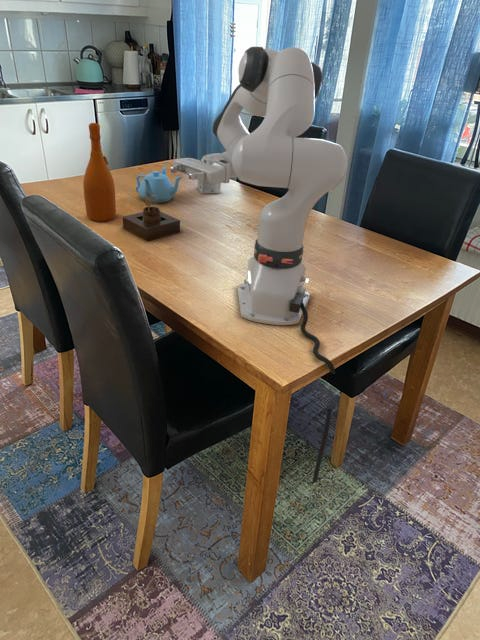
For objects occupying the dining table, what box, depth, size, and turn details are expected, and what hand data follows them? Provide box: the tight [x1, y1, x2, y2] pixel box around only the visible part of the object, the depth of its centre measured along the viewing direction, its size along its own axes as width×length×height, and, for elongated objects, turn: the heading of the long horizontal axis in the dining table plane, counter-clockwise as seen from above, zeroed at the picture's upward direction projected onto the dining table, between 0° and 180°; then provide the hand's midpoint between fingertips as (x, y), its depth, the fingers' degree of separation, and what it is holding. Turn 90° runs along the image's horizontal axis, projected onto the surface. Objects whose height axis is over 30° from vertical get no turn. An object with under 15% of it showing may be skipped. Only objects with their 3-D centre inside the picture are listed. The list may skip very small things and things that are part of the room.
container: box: [197, 180, 222, 194], centre depth 195 cm, size 8×8×13 cm
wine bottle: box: [82, 122, 117, 222], centre depth 157 cm, size 10×10×30 cm
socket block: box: [122, 210, 181, 242], centre depth 157 cm, size 13×13×4 cm
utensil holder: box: [142, 195, 161, 224], centre depth 155 cm, size 6×6×12 cm
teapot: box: [135, 165, 183, 204], centre depth 183 cm, size 15×15×10 cm
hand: (180, 173), depth 157 cm, fingers open, 8 cm apart
